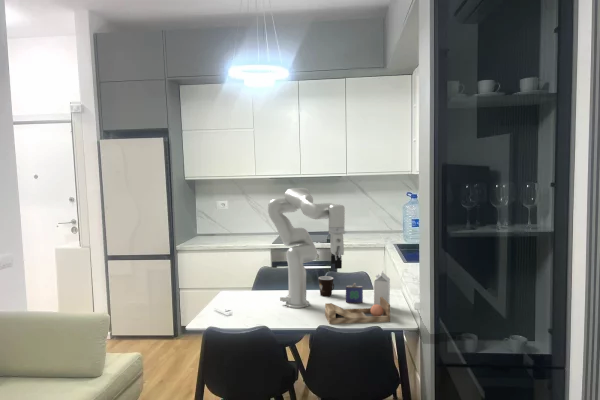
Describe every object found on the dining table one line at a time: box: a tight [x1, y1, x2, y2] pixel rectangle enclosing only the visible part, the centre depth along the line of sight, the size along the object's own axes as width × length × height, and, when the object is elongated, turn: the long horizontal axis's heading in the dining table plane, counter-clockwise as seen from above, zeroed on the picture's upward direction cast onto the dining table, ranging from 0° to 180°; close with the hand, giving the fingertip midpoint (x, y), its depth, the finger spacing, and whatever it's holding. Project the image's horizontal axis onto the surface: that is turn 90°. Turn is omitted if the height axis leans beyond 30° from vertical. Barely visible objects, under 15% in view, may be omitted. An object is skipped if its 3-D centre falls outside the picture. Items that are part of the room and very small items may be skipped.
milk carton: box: [373, 270, 391, 305], centre depth 215 cm, size 7×7×19 cm
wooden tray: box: [324, 297, 391, 325], centre depth 201 cm, size 29×13×8 cm, turn 96°
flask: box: [345, 282, 364, 304], centre depth 225 cm, size 9×3×11 cm, turn 87°
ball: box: [370, 304, 383, 316], centre depth 202 cm, size 6×6×6 cm
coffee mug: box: [318, 275, 335, 298], centre depth 237 cm, size 12×9×10 cm
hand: (336, 266), depth 198 cm, fingers open, 9 cm apart
